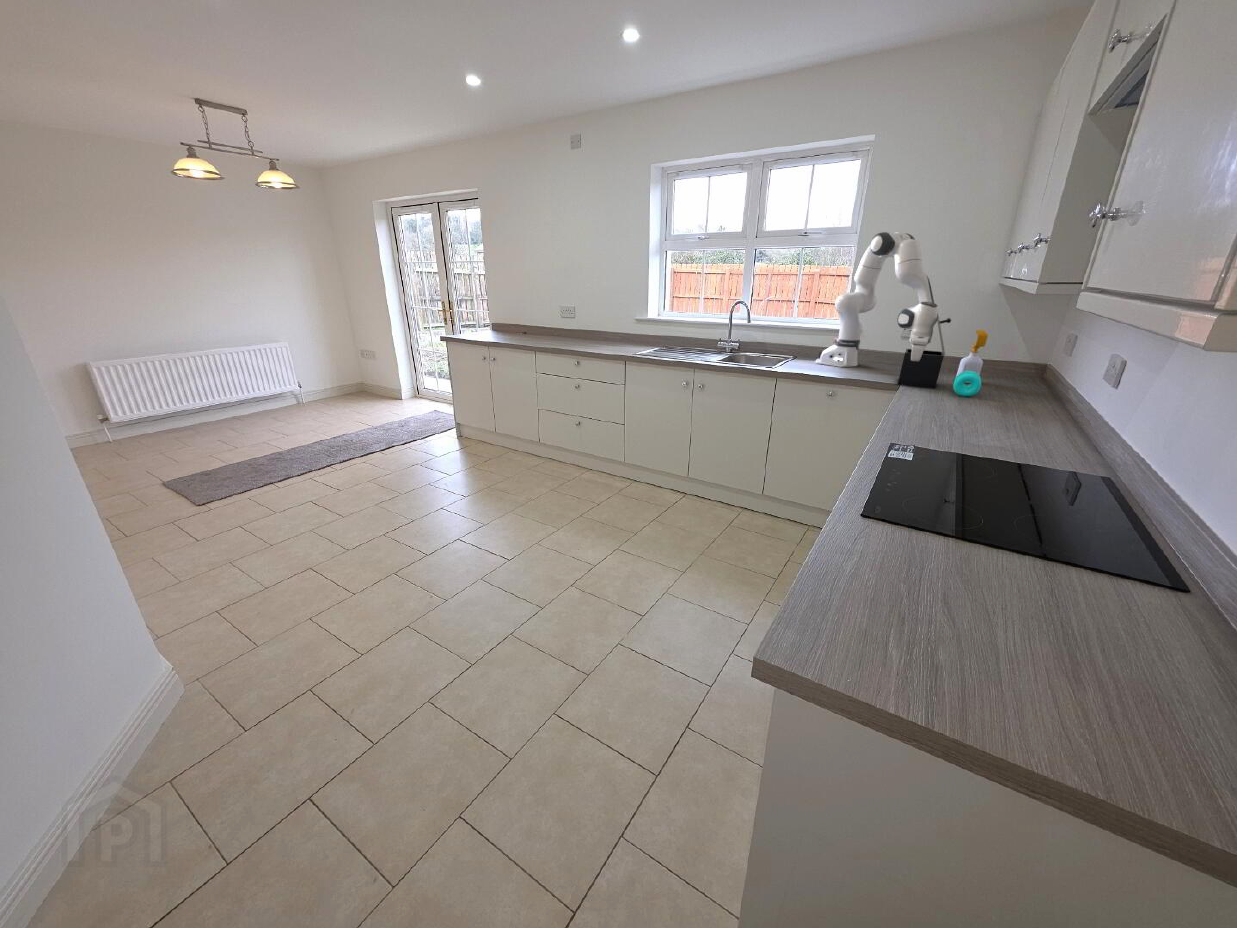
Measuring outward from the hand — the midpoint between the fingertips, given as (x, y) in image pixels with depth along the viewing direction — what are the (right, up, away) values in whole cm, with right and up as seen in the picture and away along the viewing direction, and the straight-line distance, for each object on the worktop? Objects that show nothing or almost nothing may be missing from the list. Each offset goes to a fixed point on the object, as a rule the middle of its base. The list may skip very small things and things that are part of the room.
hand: (913, 367), depth 233 cm
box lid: (+6, +13, -10) cm, 17 cm away
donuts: (+13, -16, -16) cm, 26 cm away
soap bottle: (+30, -6, +7) cm, 32 cm away
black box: (+3, -8, +2) cm, 8 cm away
